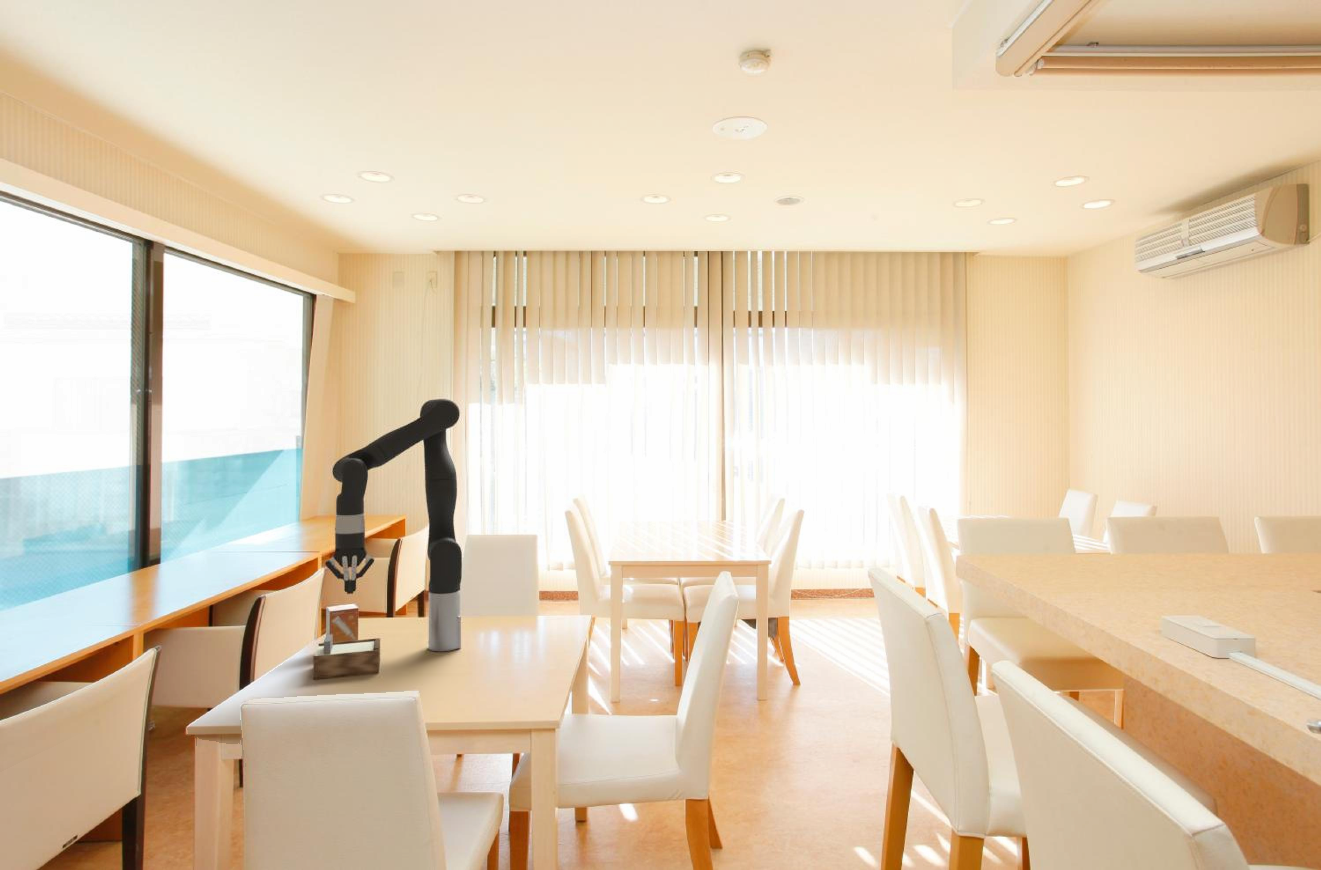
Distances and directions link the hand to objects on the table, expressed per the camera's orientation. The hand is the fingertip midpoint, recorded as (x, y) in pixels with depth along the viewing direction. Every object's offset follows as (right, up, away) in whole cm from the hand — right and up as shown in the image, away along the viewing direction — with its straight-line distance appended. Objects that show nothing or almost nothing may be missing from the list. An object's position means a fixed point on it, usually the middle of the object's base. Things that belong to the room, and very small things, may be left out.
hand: (350, 593), depth 197 cm
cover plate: (-1, -16, 0) cm, 16 cm away
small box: (-10, -21, +17) cm, 29 cm away
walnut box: (0, -21, 0) cm, 21 cm away
